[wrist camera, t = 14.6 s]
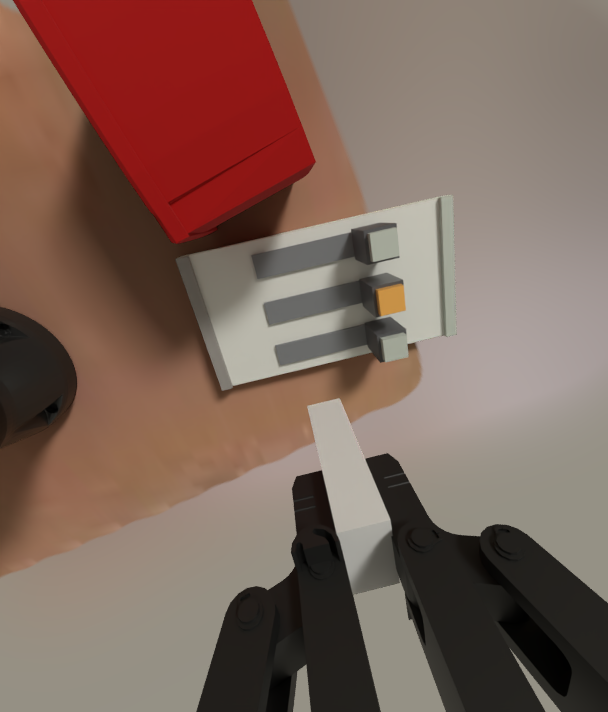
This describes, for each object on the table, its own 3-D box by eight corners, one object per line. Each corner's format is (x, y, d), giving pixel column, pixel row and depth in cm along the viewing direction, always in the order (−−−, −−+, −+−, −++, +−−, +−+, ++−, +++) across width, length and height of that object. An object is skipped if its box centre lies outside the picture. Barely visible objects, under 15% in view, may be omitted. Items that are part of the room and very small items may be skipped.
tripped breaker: (362, 306, 36) (378, 320, 31) (359, 279, 35) (374, 288, 30) (389, 299, 36) (409, 312, 31) (386, 272, 35) (406, 281, 30)
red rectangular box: (95, 54, 28) (-70, -106, 14) (206, -15, 27) (145, -258, 13) (204, 237, 34) (163, 249, 20) (296, 185, 33) (319, 162, 20)
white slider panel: (224, 380, 40) (216, 414, 33) (181, 256, 35) (159, 265, 27) (445, 327, 41) (483, 350, 34) (440, 196, 35) (484, 190, 28)
